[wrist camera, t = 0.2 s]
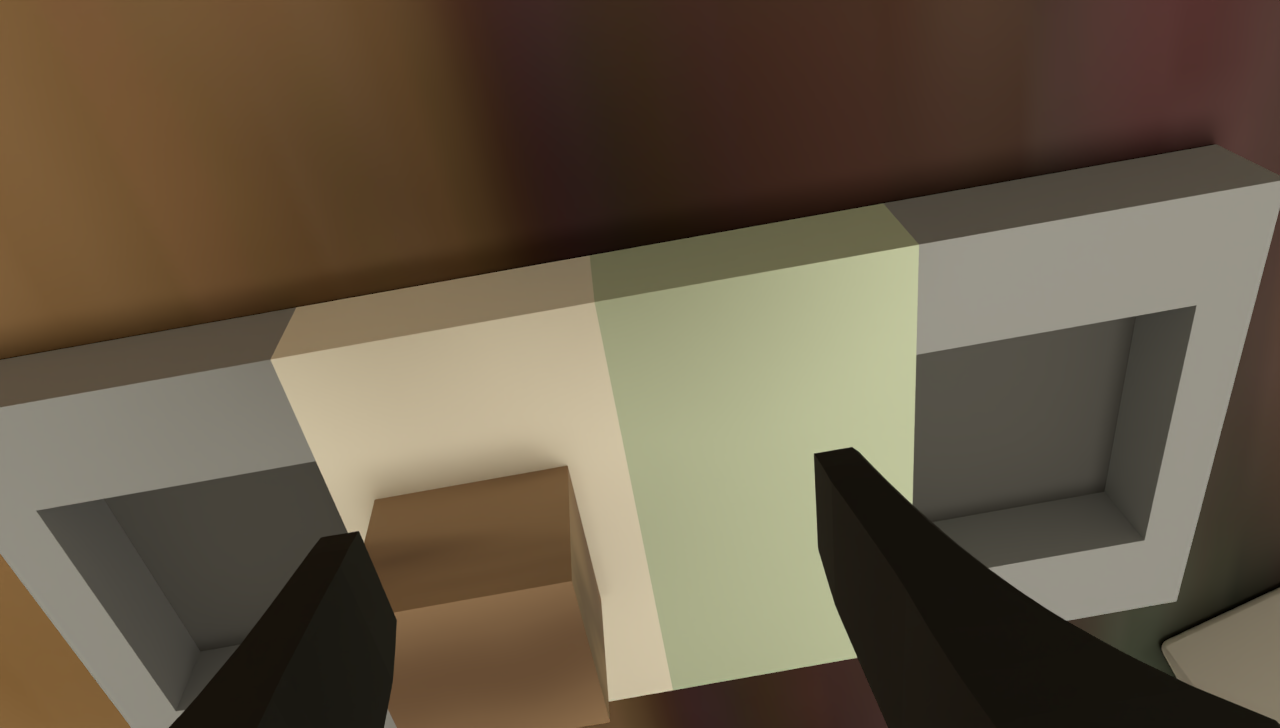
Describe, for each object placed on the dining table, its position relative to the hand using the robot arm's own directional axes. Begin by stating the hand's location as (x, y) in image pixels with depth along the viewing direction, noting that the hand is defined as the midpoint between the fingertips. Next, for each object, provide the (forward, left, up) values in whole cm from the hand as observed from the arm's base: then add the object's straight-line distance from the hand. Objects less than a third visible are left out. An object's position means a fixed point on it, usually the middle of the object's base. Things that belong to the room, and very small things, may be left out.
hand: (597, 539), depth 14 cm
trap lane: (-7, 0, -10) cm, 12 cm away
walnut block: (-7, +4, -7) cm, 11 cm away
